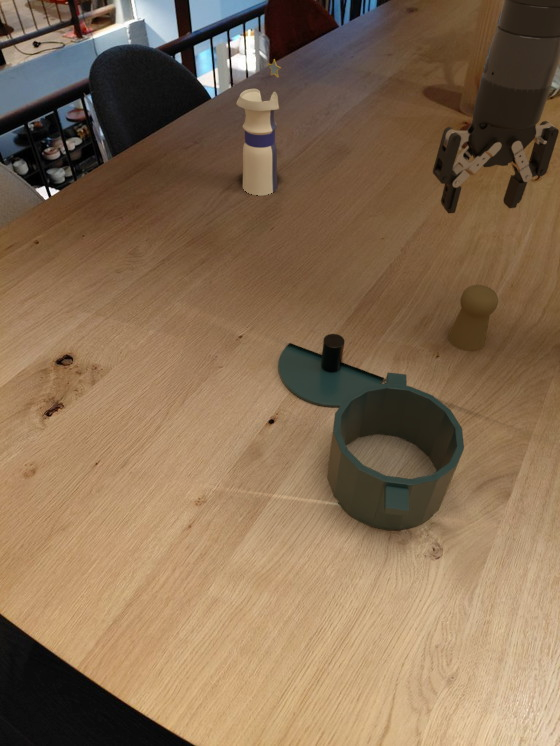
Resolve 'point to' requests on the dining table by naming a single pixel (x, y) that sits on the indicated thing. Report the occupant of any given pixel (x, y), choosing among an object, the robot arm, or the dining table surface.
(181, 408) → the dining table surface
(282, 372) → the lid
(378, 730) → the dining table surface
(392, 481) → the pot
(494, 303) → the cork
